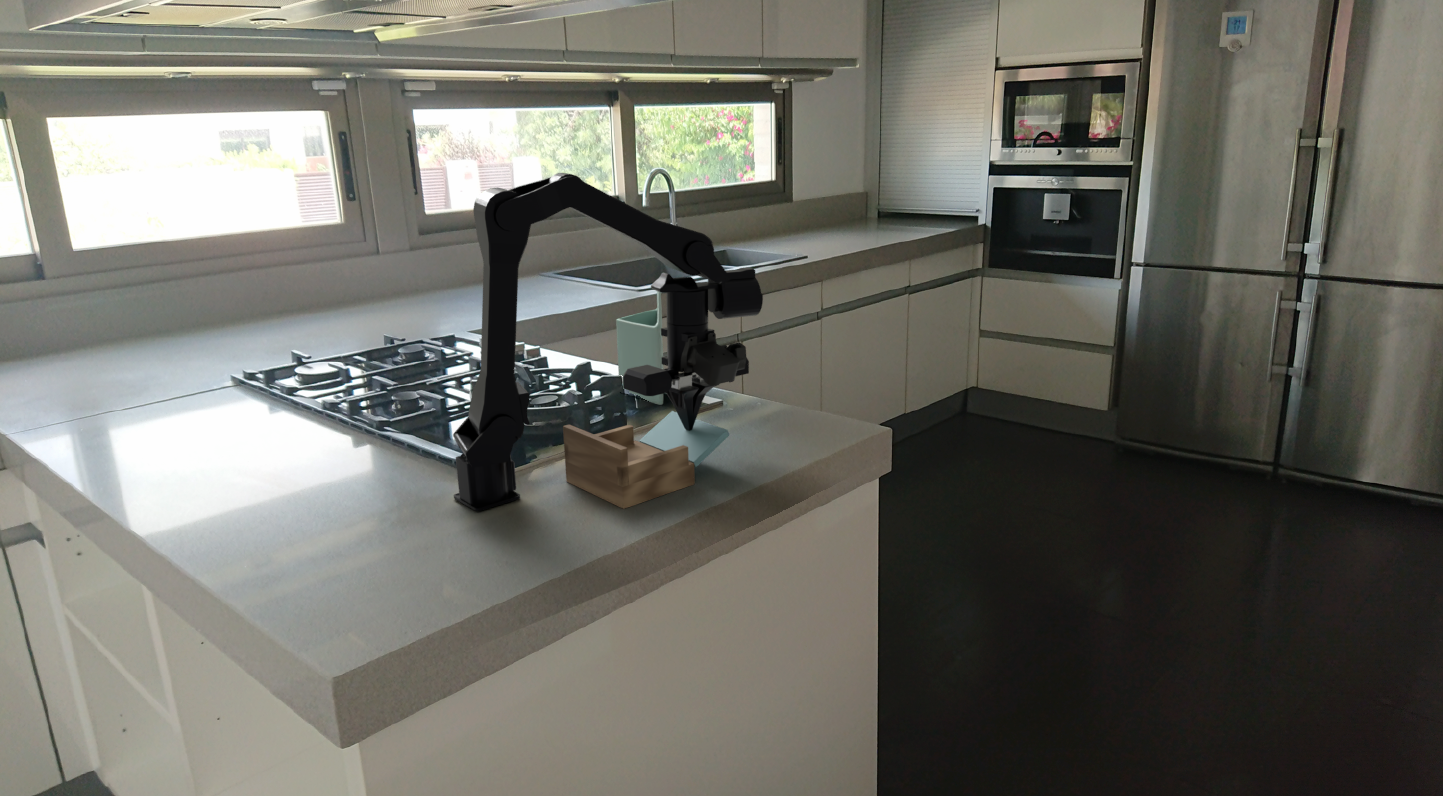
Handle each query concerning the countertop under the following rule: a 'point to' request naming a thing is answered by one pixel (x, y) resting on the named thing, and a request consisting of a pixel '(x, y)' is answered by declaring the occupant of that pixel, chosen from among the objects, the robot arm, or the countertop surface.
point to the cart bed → (623, 466)
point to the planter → (641, 343)
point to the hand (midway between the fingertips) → (688, 429)
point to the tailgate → (686, 437)
